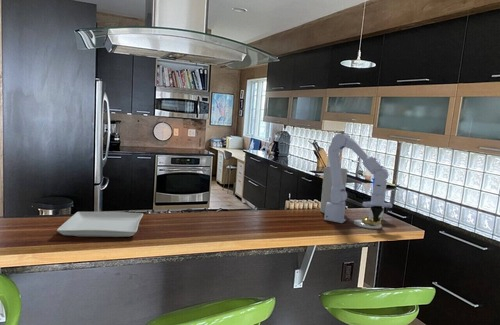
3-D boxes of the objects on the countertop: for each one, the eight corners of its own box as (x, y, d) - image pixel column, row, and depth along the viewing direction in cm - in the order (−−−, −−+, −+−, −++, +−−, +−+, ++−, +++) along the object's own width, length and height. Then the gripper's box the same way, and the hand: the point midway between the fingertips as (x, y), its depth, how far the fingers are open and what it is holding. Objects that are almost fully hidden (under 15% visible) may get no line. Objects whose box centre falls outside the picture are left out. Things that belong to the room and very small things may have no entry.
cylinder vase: (339, 216, 188) (343, 170, 186) (316, 212, 194) (321, 167, 192) (345, 212, 199) (350, 169, 196) (324, 208, 205) (328, 166, 203)
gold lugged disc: (366, 225, 168) (367, 217, 168) (359, 220, 176) (360, 213, 176) (381, 225, 169) (382, 218, 168) (373, 221, 177) (374, 213, 177)
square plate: (55, 240, 123) (55, 229, 123) (77, 219, 150) (77, 210, 149) (135, 240, 128) (136, 230, 128) (143, 220, 155) (143, 211, 155)
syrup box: (379, 221, 185) (382, 194, 183) (368, 218, 188) (371, 192, 187) (383, 219, 189) (386, 192, 188) (372, 217, 193) (374, 191, 191)
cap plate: (351, 225, 171) (351, 218, 171) (357, 220, 182) (357, 213, 182) (379, 231, 165) (380, 223, 164) (383, 225, 176) (384, 218, 176)
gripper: (369, 194, 162) (365, 223, 163) (397, 196, 165) (393, 224, 166) (361, 191, 169) (358, 219, 170) (388, 193, 172) (385, 220, 173)
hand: (375, 221), depth 169 cm, fingers closed, pressing on gold lugged disc
